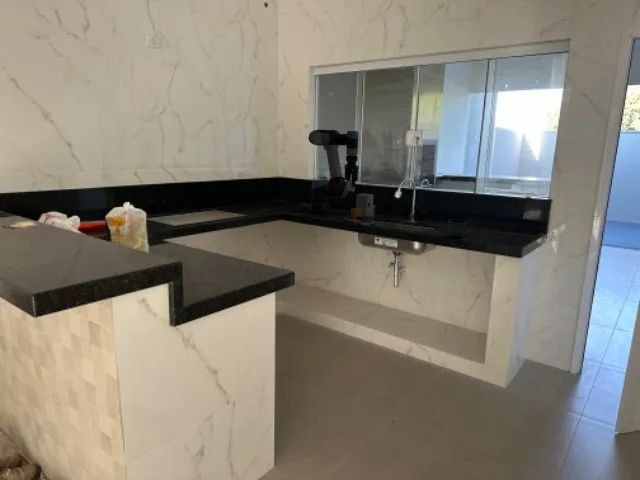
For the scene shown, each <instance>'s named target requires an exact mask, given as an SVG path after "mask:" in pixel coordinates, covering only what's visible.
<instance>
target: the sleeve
mask: <svg viewBox="0 0 640 480" xmlns="http://www.w3.org/2000/svg"><path fill="white" fill-rule="evenodd" d="M350 214H351V215H352V218H355V219H356V218H357V216H359V217H362V209H360V208H356V207H355V208H354V207H353V208H351V209H350Z"/></svg>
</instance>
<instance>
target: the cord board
mask: <svg viewBox="0 0 640 480" xmlns="http://www.w3.org/2000/svg"><path fill="white" fill-rule="evenodd" d="M346 220H347V221H346ZM344 221H346V222H349V221H351V222H350V223H352V222H354V223H353V224H356V223H358V224H357V225H359V224H361V225H360V226H362V225H363V226H362V227H364V225H366V226H372V225H371V224H375V225H379V221H377V220H373V216H369V215H368V216H364V217H362V216H361V217H359V216H357V218H356V219H355V218H352V215H351V213H349V214H346V216H345V218H344Z"/></svg>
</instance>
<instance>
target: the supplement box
mask: <svg viewBox="0 0 640 480" xmlns="http://www.w3.org/2000/svg"><path fill="white" fill-rule="evenodd" d="M355 199H356V200H355V208H360V209H362V216H361V217H363V218H364V216H368V215H369V216H372V217H373V213H374V212H373V211H374V194H373V193H372V194H371V193H358V194H356V198H355Z"/></svg>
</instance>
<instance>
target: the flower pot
mask: <svg viewBox="0 0 640 480" xmlns="http://www.w3.org/2000/svg"><path fill="white" fill-rule="evenodd" d="M467 225H468V222H467V221H466V220H464V219H448V231H449V233H451V234H454V235H463V236H464V235H465V232H466V229H467ZM451 234H450V235H451Z"/></svg>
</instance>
